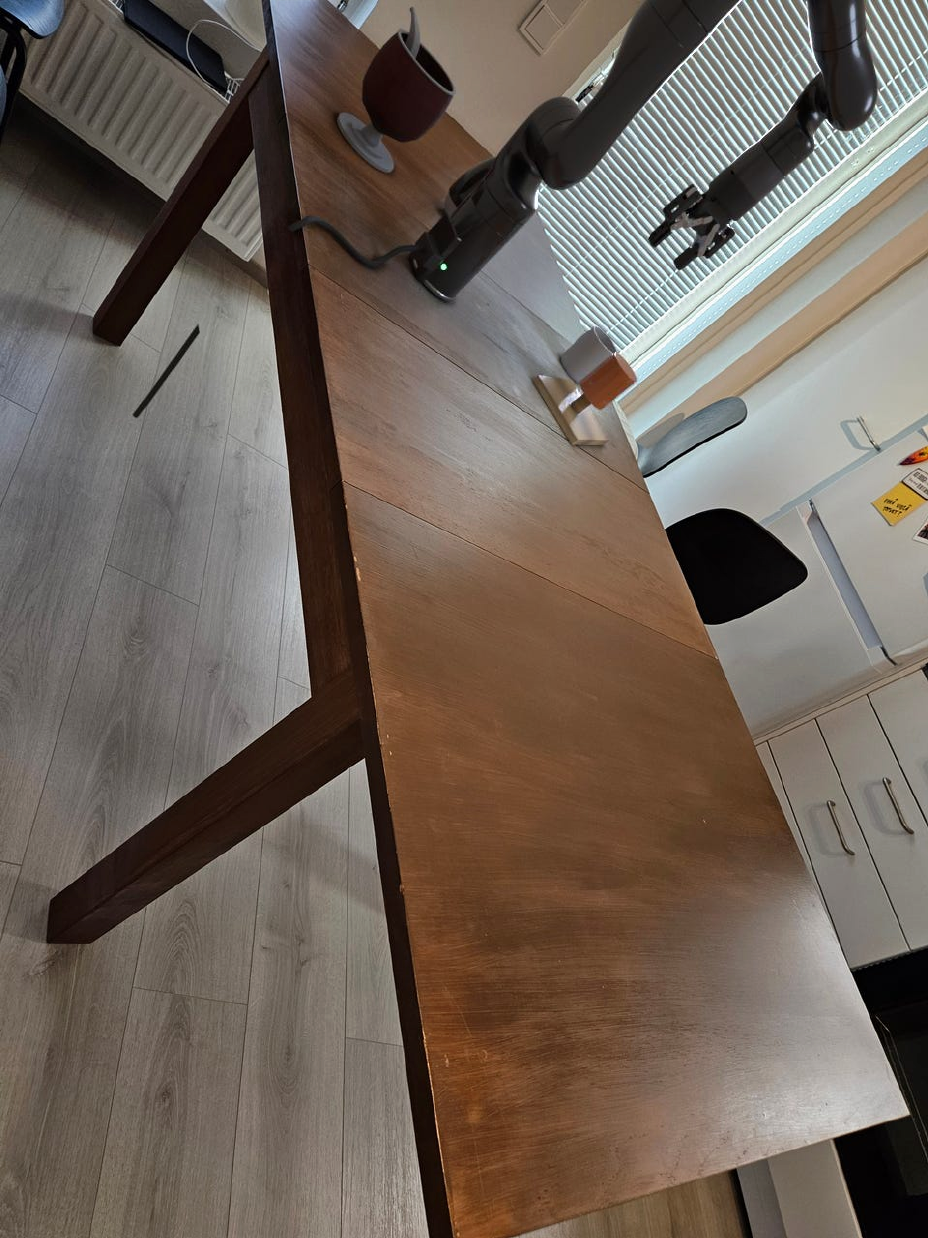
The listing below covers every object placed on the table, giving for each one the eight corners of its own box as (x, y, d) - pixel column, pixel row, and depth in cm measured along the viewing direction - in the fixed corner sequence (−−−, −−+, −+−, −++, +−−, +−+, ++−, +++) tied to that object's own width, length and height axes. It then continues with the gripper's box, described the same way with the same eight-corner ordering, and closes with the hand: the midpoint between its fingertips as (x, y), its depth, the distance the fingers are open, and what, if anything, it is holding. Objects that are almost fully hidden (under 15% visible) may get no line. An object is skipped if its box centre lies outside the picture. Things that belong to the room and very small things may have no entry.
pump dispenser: (474, 252, 155) (531, 192, 147) (434, 214, 150) (491, 149, 142) (475, 231, 162) (530, 172, 154) (437, 193, 157) (491, 130, 149)
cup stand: (571, 444, 142) (628, 399, 135) (532, 380, 144) (586, 332, 137) (603, 445, 153) (657, 403, 146) (566, 385, 155) (618, 341, 148)
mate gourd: (407, 183, 148) (482, 93, 137) (360, 165, 136) (438, 64, 125) (364, 117, 149) (435, 22, 138) (315, 94, 138) (388, -12, 127)
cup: (562, 371, 158) (597, 340, 153) (555, 340, 164) (588, 310, 159) (585, 390, 162) (620, 361, 157) (577, 360, 168) (610, 331, 163)
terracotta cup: (587, 402, 142) (623, 373, 138) (575, 376, 144) (610, 346, 140) (606, 414, 146) (641, 386, 142) (594, 388, 149) (628, 360, 145)
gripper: (755, 189, 134) (675, 259, 143) (717, 141, 124) (633, 220, 133) (774, 218, 131) (691, 288, 140) (737, 172, 121) (650, 250, 130)
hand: (663, 255), depth 137 cm, fingers open, 8 cm apart
